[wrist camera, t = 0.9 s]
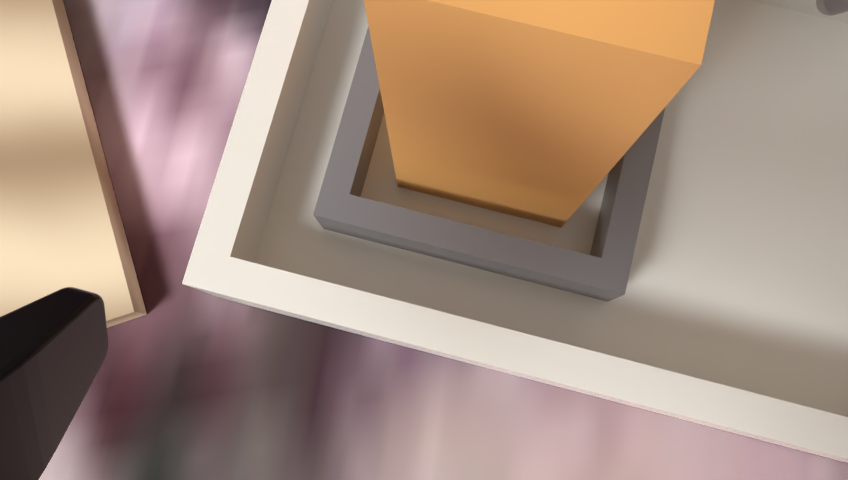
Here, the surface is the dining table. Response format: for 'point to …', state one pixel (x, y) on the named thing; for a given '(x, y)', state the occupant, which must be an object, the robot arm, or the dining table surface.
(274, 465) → the dining table surface
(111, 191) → the wooden board
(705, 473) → the dining table surface
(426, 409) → the dining table surface
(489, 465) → the dining table surface
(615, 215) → the equipment case
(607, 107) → the block
